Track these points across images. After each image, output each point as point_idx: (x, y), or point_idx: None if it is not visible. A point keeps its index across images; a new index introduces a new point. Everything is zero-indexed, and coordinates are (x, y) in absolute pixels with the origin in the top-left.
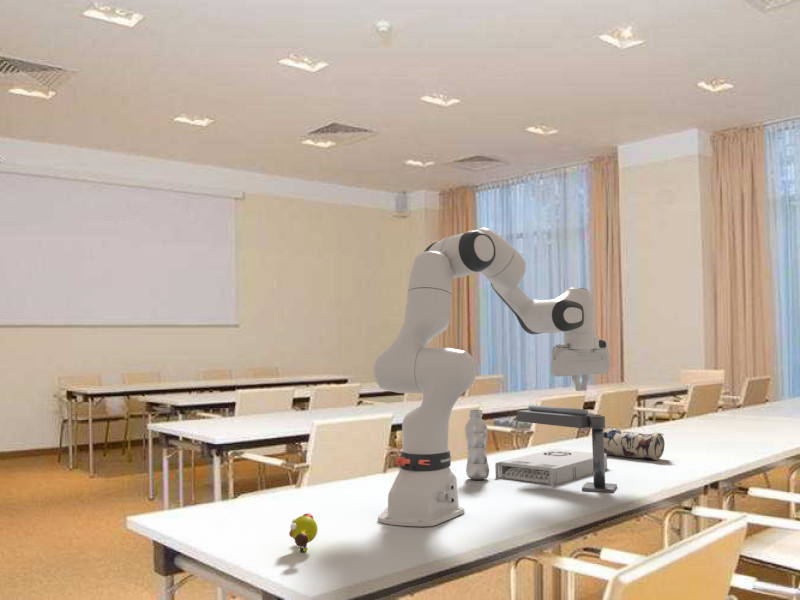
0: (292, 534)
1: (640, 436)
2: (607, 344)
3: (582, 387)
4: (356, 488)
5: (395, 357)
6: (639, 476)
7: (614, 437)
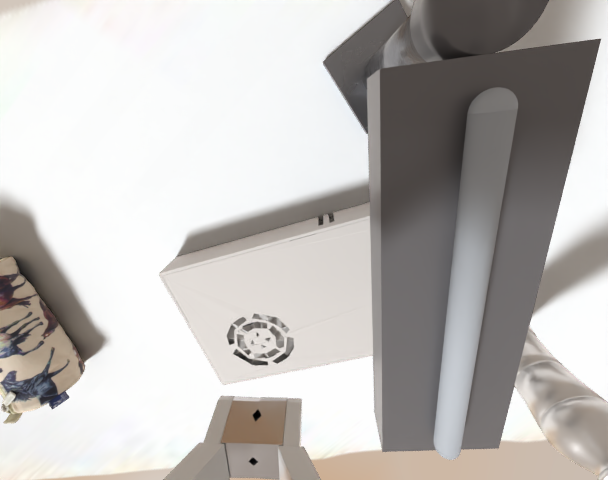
0: None
1: None
2: None
3: (266, 418)
4: None
5: None
6: (172, 136)
7: (37, 371)
